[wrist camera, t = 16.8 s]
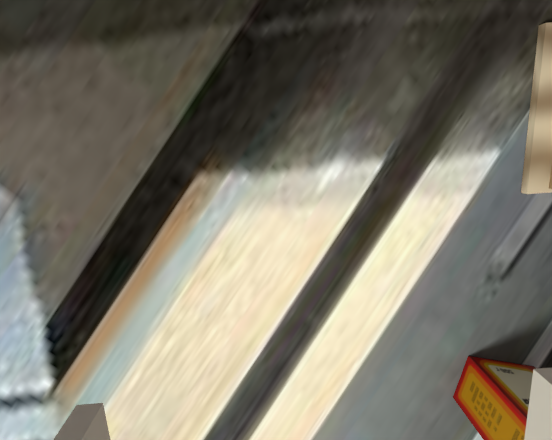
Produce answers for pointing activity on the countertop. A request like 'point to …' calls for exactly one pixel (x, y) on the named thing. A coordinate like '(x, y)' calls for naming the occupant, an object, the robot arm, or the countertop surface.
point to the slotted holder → (540, 120)
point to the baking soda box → (495, 397)
